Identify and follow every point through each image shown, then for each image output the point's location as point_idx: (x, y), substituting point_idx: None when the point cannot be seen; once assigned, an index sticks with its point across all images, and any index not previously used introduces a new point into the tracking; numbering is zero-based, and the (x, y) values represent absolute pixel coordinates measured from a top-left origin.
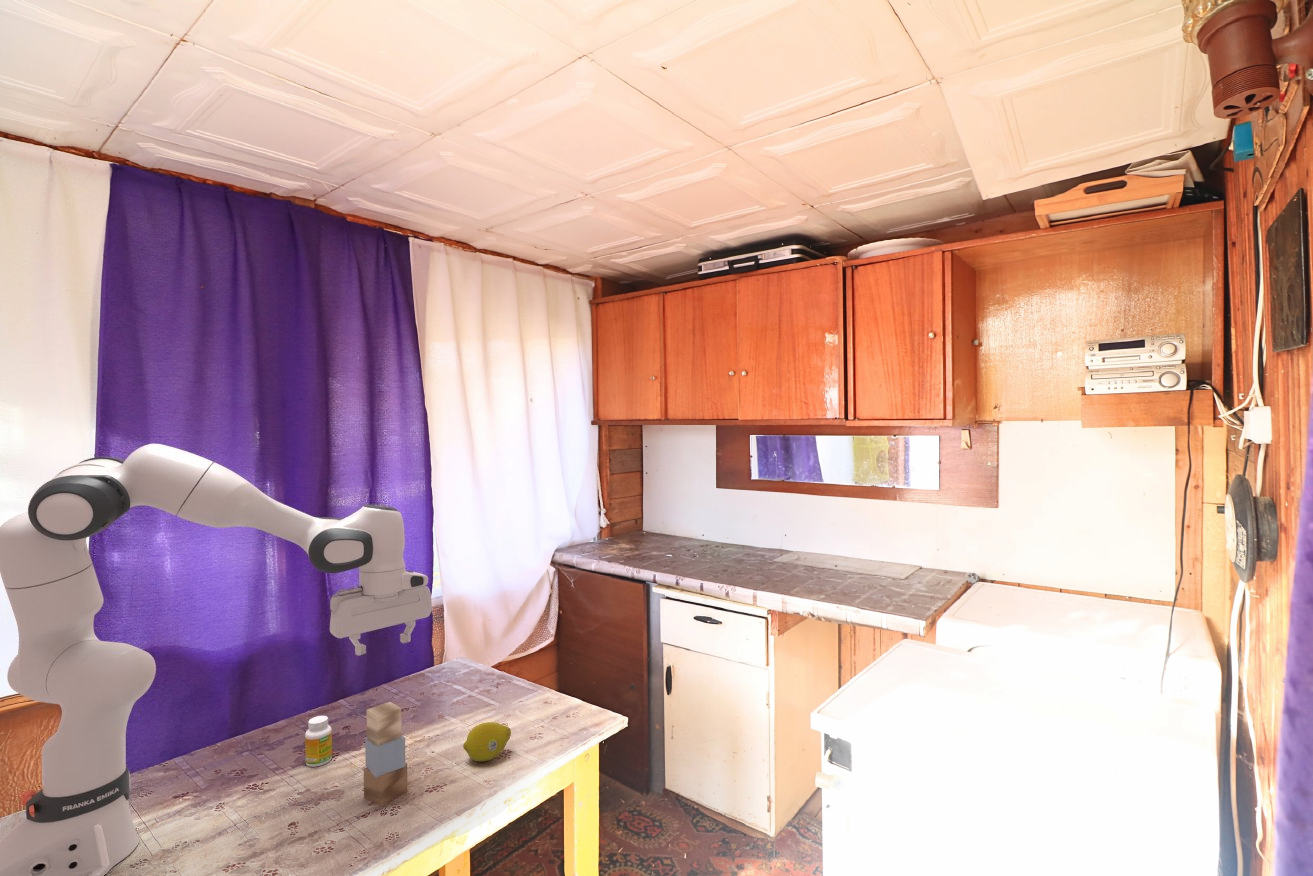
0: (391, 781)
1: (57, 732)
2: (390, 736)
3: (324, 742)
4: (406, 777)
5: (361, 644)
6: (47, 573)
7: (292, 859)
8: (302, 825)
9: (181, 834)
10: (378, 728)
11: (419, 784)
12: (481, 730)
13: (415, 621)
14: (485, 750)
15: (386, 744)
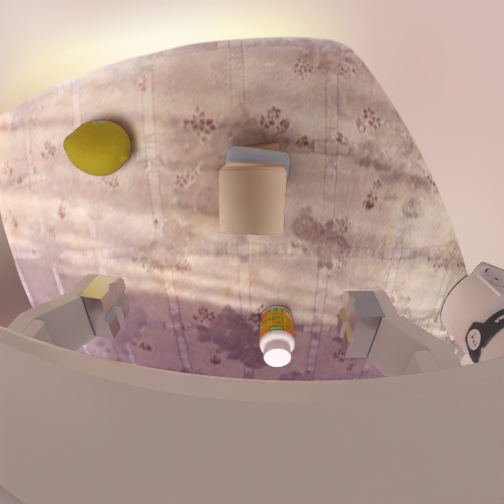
0: (260, 146)
1: None
2: (253, 162)
3: (276, 324)
4: None
5: (357, 349)
6: None
7: (400, 134)
8: (364, 190)
9: (428, 282)
10: (282, 168)
11: (211, 152)
12: (95, 142)
13: (8, 328)
14: (112, 122)
15: (267, 155)
